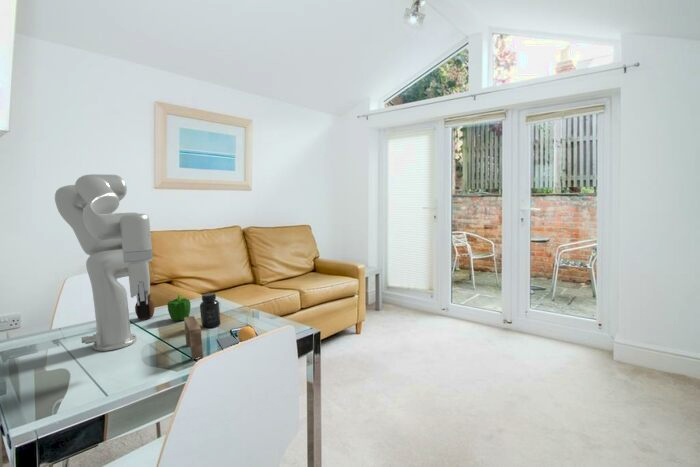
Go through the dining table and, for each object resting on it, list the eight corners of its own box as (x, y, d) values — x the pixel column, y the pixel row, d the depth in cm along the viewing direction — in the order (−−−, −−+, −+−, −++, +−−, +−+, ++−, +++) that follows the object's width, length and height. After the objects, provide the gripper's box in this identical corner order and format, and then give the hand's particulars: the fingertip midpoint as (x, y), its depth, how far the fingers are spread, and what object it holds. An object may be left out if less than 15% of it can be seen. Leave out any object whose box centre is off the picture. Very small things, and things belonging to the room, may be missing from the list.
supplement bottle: (223, 322, 149) (221, 292, 148) (216, 328, 143) (213, 296, 141) (206, 322, 150) (204, 292, 149) (198, 328, 143) (195, 297, 142)
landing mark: (224, 351, 122) (224, 350, 122) (216, 339, 132) (216, 338, 132) (261, 343, 127) (261, 342, 127) (251, 332, 138) (251, 331, 138)
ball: (253, 347, 126) (237, 343, 123) (249, 343, 131) (234, 339, 128) (259, 330, 127) (243, 326, 124) (255, 327, 132) (240, 323, 129)
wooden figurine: (157, 315, 161) (154, 280, 159) (151, 320, 155) (147, 283, 153) (141, 316, 161) (137, 280, 159) (133, 321, 155) (130, 284, 153)
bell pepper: (182, 323, 150) (180, 298, 149) (164, 322, 152) (162, 297, 151) (196, 316, 158) (194, 292, 157) (179, 315, 160) (177, 291, 159)
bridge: (192, 360, 116) (190, 330, 115) (186, 344, 128) (184, 317, 127) (203, 357, 117) (200, 328, 116) (195, 342, 130) (193, 315, 129)
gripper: (123, 254, 118) (129, 313, 120) (122, 261, 105) (129, 327, 107) (151, 251, 121) (156, 308, 123) (153, 258, 108) (159, 322, 110)
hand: (143, 317), depth 115 cm, fingers closed
